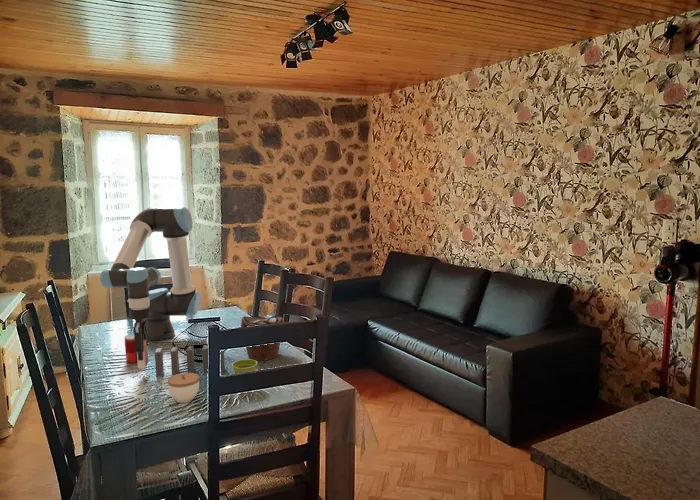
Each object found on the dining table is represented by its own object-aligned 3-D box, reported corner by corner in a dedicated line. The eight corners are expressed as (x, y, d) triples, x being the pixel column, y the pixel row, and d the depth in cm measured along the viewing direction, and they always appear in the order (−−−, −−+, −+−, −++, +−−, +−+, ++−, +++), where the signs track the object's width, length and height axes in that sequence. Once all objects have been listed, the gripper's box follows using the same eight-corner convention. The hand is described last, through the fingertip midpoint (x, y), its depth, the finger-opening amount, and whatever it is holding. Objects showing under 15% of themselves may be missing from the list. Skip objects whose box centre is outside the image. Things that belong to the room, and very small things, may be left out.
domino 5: (204, 369, 216) (203, 345, 215) (209, 368, 216) (208, 345, 215) (203, 373, 211) (202, 349, 210) (208, 373, 211) (207, 349, 210)
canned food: (139, 364, 222) (137, 339, 220) (122, 363, 223) (120, 338, 222) (149, 358, 229) (148, 333, 228) (133, 357, 231) (131, 332, 229)
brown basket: (295, 354, 232) (293, 314, 230) (258, 366, 218) (256, 324, 215) (269, 346, 244) (267, 308, 242) (233, 357, 230) (230, 317, 227)
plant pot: (236, 392, 192) (235, 369, 191) (230, 383, 201) (229, 361, 199) (261, 387, 197) (260, 365, 195) (254, 379, 205) (253, 357, 204)
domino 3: (174, 371, 214) (172, 347, 213) (179, 370, 214) (177, 347, 213) (172, 375, 209) (170, 351, 208) (177, 375, 209) (175, 351, 208)
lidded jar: (170, 407, 181) (168, 381, 179) (167, 395, 190) (165, 370, 189) (202, 402, 185) (201, 376, 183) (198, 390, 194) (196, 366, 193)
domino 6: (219, 367, 217) (218, 344, 215) (224, 367, 217) (223, 344, 216) (218, 372, 212) (217, 348, 211) (223, 372, 212) (222, 348, 211)
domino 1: (142, 363, 211) (140, 339, 210) (147, 363, 212) (146, 339, 210) (139, 368, 206) (138, 343, 205) (145, 367, 207) (143, 343, 205)
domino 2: (158, 372, 213) (157, 348, 212) (163, 371, 213) (162, 347, 212) (156, 376, 208) (154, 352, 207) (161, 376, 209) (159, 352, 207)
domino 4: (189, 370, 215) (188, 346, 214) (194, 369, 215) (193, 346, 214) (187, 374, 210) (186, 350, 209) (193, 374, 210) (191, 350, 209)
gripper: (134, 302, 214) (138, 358, 217) (123, 314, 196) (127, 374, 200) (154, 301, 215) (157, 356, 218) (144, 312, 198) (148, 372, 201)
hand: (143, 364), depth 209 cm, fingers closed on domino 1, 5 cm apart
